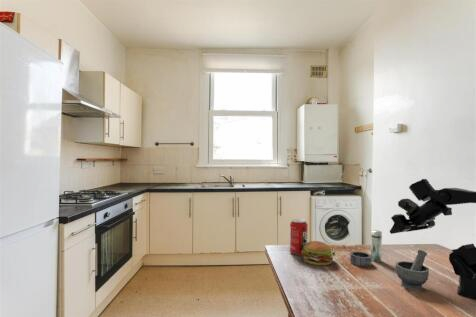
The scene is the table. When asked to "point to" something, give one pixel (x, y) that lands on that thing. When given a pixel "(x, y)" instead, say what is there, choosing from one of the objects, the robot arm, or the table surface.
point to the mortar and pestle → (413, 272)
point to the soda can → (298, 235)
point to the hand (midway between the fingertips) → (398, 231)
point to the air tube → (376, 245)
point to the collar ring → (361, 259)
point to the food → (317, 253)
